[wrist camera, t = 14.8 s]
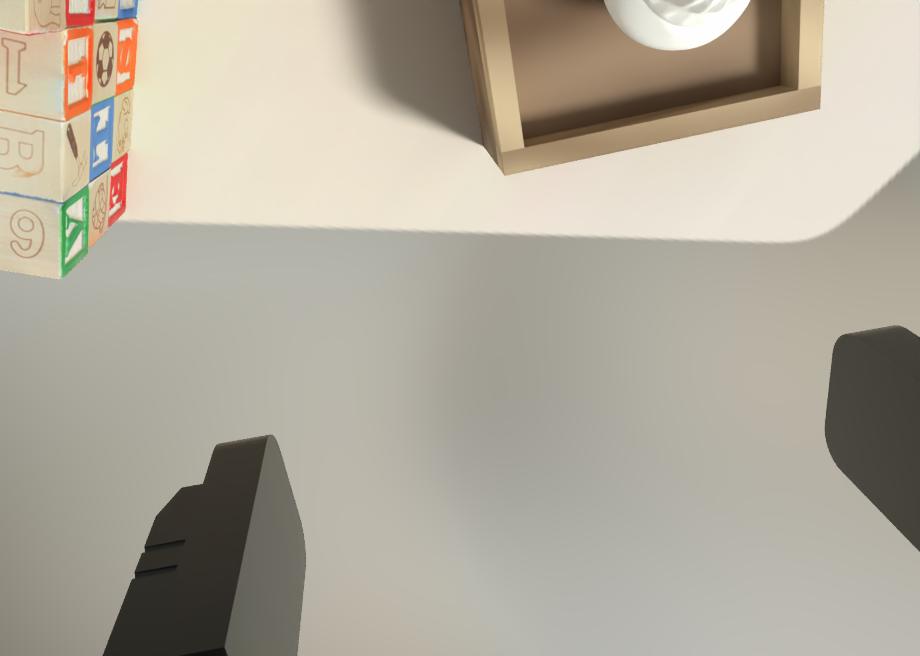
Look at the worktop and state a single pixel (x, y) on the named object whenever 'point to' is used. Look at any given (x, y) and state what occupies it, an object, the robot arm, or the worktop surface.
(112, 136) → the stack of blocks
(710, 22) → the white ribbed cup
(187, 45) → the worktop surface
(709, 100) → the wooden tray
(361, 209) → the worktop surface
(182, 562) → the robot arm
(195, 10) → the worktop surface
